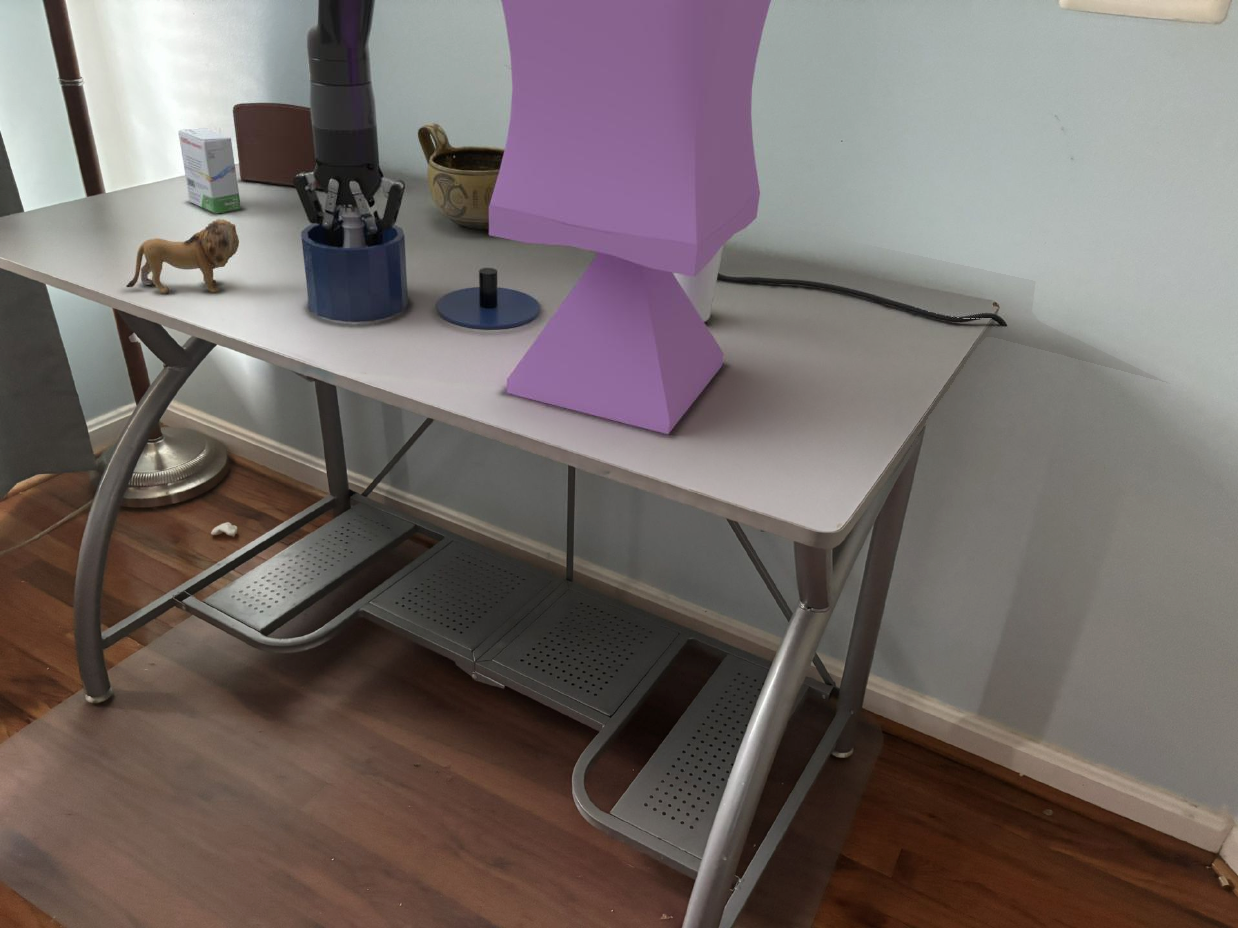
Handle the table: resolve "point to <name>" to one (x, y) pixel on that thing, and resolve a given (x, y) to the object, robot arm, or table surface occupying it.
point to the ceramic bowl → (460, 177)
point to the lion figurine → (189, 254)
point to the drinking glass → (702, 286)
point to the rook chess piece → (352, 227)
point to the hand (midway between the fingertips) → (355, 257)
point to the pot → (355, 276)
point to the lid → (488, 305)
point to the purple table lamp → (628, 188)
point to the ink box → (209, 170)
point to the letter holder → (274, 142)
